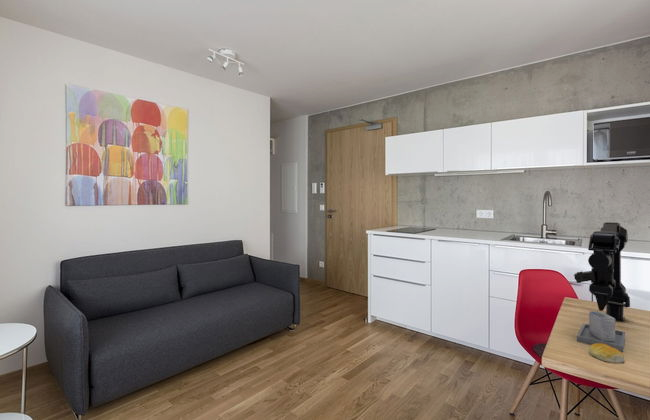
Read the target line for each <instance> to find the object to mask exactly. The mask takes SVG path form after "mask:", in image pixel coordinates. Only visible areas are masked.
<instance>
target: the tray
mask: <svg viewBox="0 0 650 420" xmlns="http://www.w3.org/2000/svg"><path fill="white" fill-rule="evenodd" d="M625 341H626V331H622V330H617V329H615V342H607V341H601V340H600V339H598V338H597V337H595V336H594V335H592V334H590V333H589V324H588V323H583V324H582V325H581V327H580V329H579V331H578V333H577V335H576V342H578V343H581V344H582V343H583V344H587V345H590V346H591V345H592V344H595V343H602V344H606V345H609V346H610V347H612V348H616V349H617V350H619V351H620V352H621V353H624V348H625Z"/></svg>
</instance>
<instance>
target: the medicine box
mask: <svg viewBox="0 0 650 420" xmlns="http://www.w3.org/2000/svg"><path fill="white" fill-rule="evenodd" d="M588 313H589V315H588V316H589V320H588V321H589V322H588V323H589V333H590V334H592V335H594V336H595V337H597V338H598V339H600V340H601V341H607V342H615V330H616V320H615V318H613V317H611V316H609V315H607V314H606V312H603V311H599V310H598V311H596V310H592V311H591V310H590V311H589V312H588Z"/></svg>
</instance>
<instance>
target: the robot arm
mask: <svg viewBox="0 0 650 420" xmlns="http://www.w3.org/2000/svg"><path fill="white" fill-rule="evenodd" d="M628 239H629V235H628V230H627V229H626V228H624V227H623V226H621V223H619V222H611V221H610V222H609V221H608V222H607V221H606V222H603V225H602V227H601V228H600V230H595V231H593V233H592V234H590V237H589V243H588V249H587V250H588V251H591V252H592V251H593V254H591V255H590V256H589V257H588V259H587V261H588V265H589V266H590V267H592V268H591V270H590V271H589V270H588V271H577V272H575V273H574V274H573V276H574V280H575V282H576V283H577V284H581V283H583V282H590V284H589V288H588V291H589V292H590V294H592V295H593V296H594V297H595V300H596V304H597V307H598V311H599V312H603V311H604V310H605V309H606V310H605V314H607V315H609V316H611V317H613V318H615V321H619V322H623V323H624V322H625V316H624V309H625V308H626V309H627V308H630V307H631V300H630V296H629V295H628V293H627V292H626V291H627V289H626V286H625V285H624V284H623V282H622V281H621V280H622V279H621V278H622V266H621V265H622V261H621V260H622V259H621V257H622V255H621V254H622V253H621V252H622V250H624V249H625V246H626V243H628Z"/></svg>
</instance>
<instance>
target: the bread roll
mask: <svg viewBox="0 0 650 420" xmlns="http://www.w3.org/2000/svg"><path fill="white" fill-rule="evenodd" d="M588 353H589V354H590V356H592V357H595V358H597V359H598V360H600V361H603V362H606V363H611V364H623V363H624V362H625V355H624V354H623V352H620V351H619V350H617V349H616V348H612V347H610V346H609V345H606V344H602V343H595V344H592V345H591V344H590V346H589V348H588Z"/></svg>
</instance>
